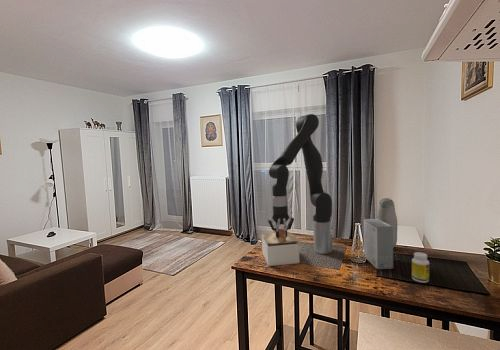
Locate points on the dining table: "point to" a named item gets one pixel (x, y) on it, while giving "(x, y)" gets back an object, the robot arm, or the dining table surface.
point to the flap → (273, 239)
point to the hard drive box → (378, 243)
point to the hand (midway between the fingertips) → (281, 237)
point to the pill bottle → (420, 267)
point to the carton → (280, 253)
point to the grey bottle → (388, 216)
